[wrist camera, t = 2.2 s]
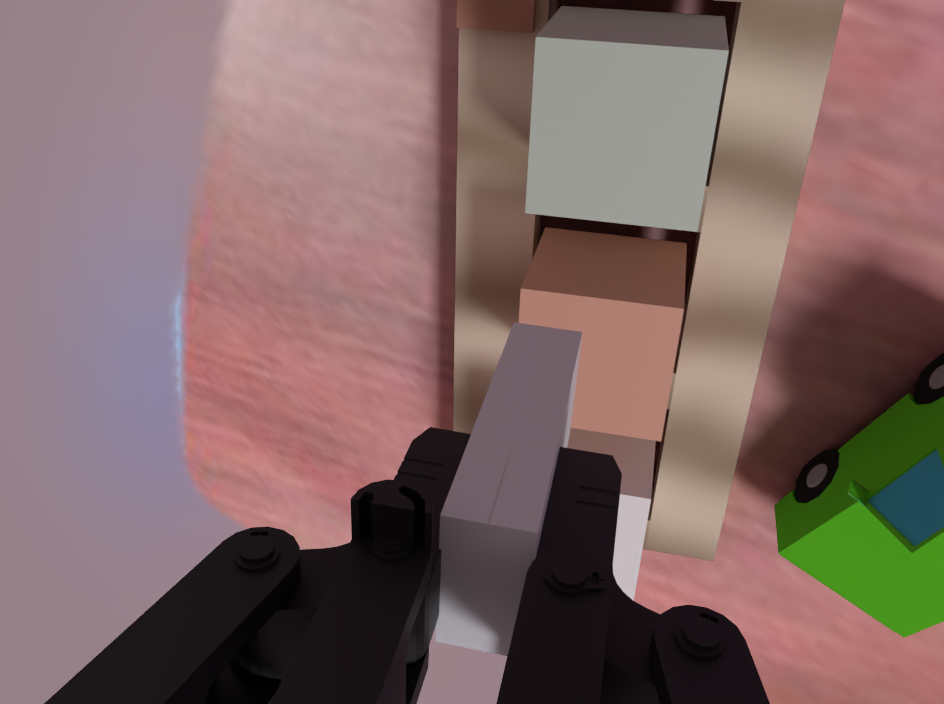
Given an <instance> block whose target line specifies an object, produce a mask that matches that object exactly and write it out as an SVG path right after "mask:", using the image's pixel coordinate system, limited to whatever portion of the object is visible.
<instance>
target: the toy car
mask: <svg viewBox="0 0 944 704" xmlns="http://www.w3.org/2000/svg"><path fill="white" fill-rule="evenodd" d="M775 517H776V528H777V540H778V552H779V554H780V555H781V556H782V557H784V558H785V559H787V560H788V561H790V562H791V563H793V564H794V565H796V566H797V567H799V568H800V569H802V570H803V571H805V572H806V573H808V574H809V575H811V576H812V577H814V578H815V579H817V580H818V581H820V582H821V583H823V584H824V585H826V586H827V587H829V588H830V589H832V590H833V591H835V592H836V593H838V594H839V595H841V596H842V597H844V598H845V599H846V600H848V601H849V602H851V603H852V604H854V605H855V606H857V607H858V608H860V609H861V610H863V611H864V612H866V613H867V614H869V615H870V616H872V617H873V618H875V619H876V620H878V621H879V622H881V623H882V624H884V625H885V626H887V627H888V628H890V629H891V630H893V631H894V632H897V633H898V634H900V635H901V636H903V637H906V636H909V635H911V634H914V633H916V632H919V631H921V630H924V629H926V628H928V627H931V626H933V625H936V624H938V623H941V622H943V621H944V353H943V354H941V355H940V356H938V357H937V358H936V359H935V360H933V361H932V362H931V363H930V364H929V365H928V366H927V367H926V368H925V369H924V370H923V371H922V372H921V374H920V376H919V378H918V380H917V382H916V384H915V394H914V396H913V395H912V394H910V393H908V394H907V395H905V396H904V397H903V398H902V399H900V400H899V401H898V402H897V403H895V404H894V405H893V406H892V407H890V408H889V409H888V410H887V411H886V412H884V413H883V414H882V415H881V416H879V417H878V418H877V419H876V420H874V421H873V422H872V423H871V424H869V425H868V426H867V427H866V428H864V429H863V430H862V431H861V432H859V433H858V434H857V435H856V436H854V437H853V438H852V439H851V440H849V441H848V442H847V443H846V444H845V445H843V446H842V447H841V448H840V449H839V450H838V452H837V451H836V450H825V451H823V452H821V453H819V454H818V455H817V456H815V457H814V458H813V459H812V460H811V461H809V462H808V463H807V464H806V465H805V467H804V468H803V469H802V471H801V473H800V475H799V477H798V479H797V481H796V486H795V491H794V490H792V491H791V492H790V493H788V494H787V495H786V496H785V497H784V498H783V499H782V500H780V501H779V502H778V503H777V504H776V505H775Z"/></svg>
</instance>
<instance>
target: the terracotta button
mask: <svg viewBox="0 0 944 704" xmlns="http://www.w3.org/2000/svg"><path fill="white" fill-rule="evenodd" d="M686 251H687V243H682V242H673V241H664V240H655V239H646V238H637V237H628V236H619V235H610V234H601V233H592V232H583V231H574V230H565V229H556V228H547V227H545V230H544V232H543V234H542V237H541V239H540V242H539V244H538V247H537V249H536V252H535V254H534V257H533V259H532V262H531V264H530V267H529V269H528V272H527V274H526V277H525V279H524V281H523V284H522V286H521V292H520V308H519V323H523V324H530V325H537V326H544V327H551V328H558V329H565V330H572V331H579V332H582V340H581V348H580V356H579V364H578V372H577V380H576V388H575V396H574V403H573V411H572V419H571V427H570V428H576V429H582V430H589V431H595V432H602V433H608V434H615V435H621V436H628V437H634V438H641V439H647V440H654V441H660V442H661V440H662V434H663V428H664V422H665V416H666V411H667V405H668V399H669V393H670V388H671V382H672V376H673V370H674V365H675V359H676V353H677V347H678V342H679V336H680V330H681V324H682V318H683V313H684V300H685V275H686Z"/></svg>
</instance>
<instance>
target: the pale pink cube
mask: <svg viewBox="0 0 944 704" xmlns="http://www.w3.org/2000/svg"><path fill="white" fill-rule="evenodd" d="M655 444H656V441H654V440H647V439H641V438H634V437H628V436H621V435H615V434H608V433H602V432H595V431H589V430H582V429H576V428H570V435H569V440H568V445H567V448H571V449H577V450H583V451H589V452H595V453H601V454H607V455H613V457H614V459H615V461H616V463H617V465H618V467H619V469H620V471H621V473H622V479H621V489H620V498H619V508H618V518H617V527H616V537H615V547H614V556H613V575H614V577H615V580H616V582H617V584H618V585H619V587H620V588H621V589H622V591H623V592H624V593H625V594H626V595H627V596H628V597H630V598H631V599H632V600H633V601H634V595H635V590H636V584H637V578H638V572H639V566H640V561H641V555H642V549H643V543H644V538H645V532H646V526H647V520H648V515H649V509H650V503H651V495H652V482H653V469H654V457H655Z"/></svg>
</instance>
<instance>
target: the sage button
mask: <svg viewBox="0 0 944 704" xmlns="http://www.w3.org/2000/svg"><path fill="white" fill-rule="evenodd" d="M728 53H729V47H728V39H727V30H726V22H725V16H712V15H696V14H681V13H665V12H650V11H634V10H619V9H603V8H588V7H572V6H561V7H560V8H559V10H558V11H557V12H556V13H555V14H554V16H553V17H552V18H551V19H550V20H549V21H548V23H547V24H546V25H545V26H544V27H543V29H542V30H541V31H540V32H539V33H538V35H537V36H536V39H535V56H534V73H533V90H532V107H531V123H530V140H529V157H528V174H527V191H526V208H525V213H528V214H537V215H547V216H556V217H565V218H574V219H583V220H592V221H601V222H611V223H620V224H629V225H638V226H647V227H656V228H666V229H675V230H684V231H693V232H698V226H699V220H700V215H701V209H702V203H703V197H704V192H705V186H706V180H707V174H708V168H709V163H710V157H711V151H712V145H713V140H714V134H715V128H716V122H717V117H718V111H719V105H720V99H721V93H722V88H723V82H724V76H725V70H726V65H727V59H728Z"/></svg>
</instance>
